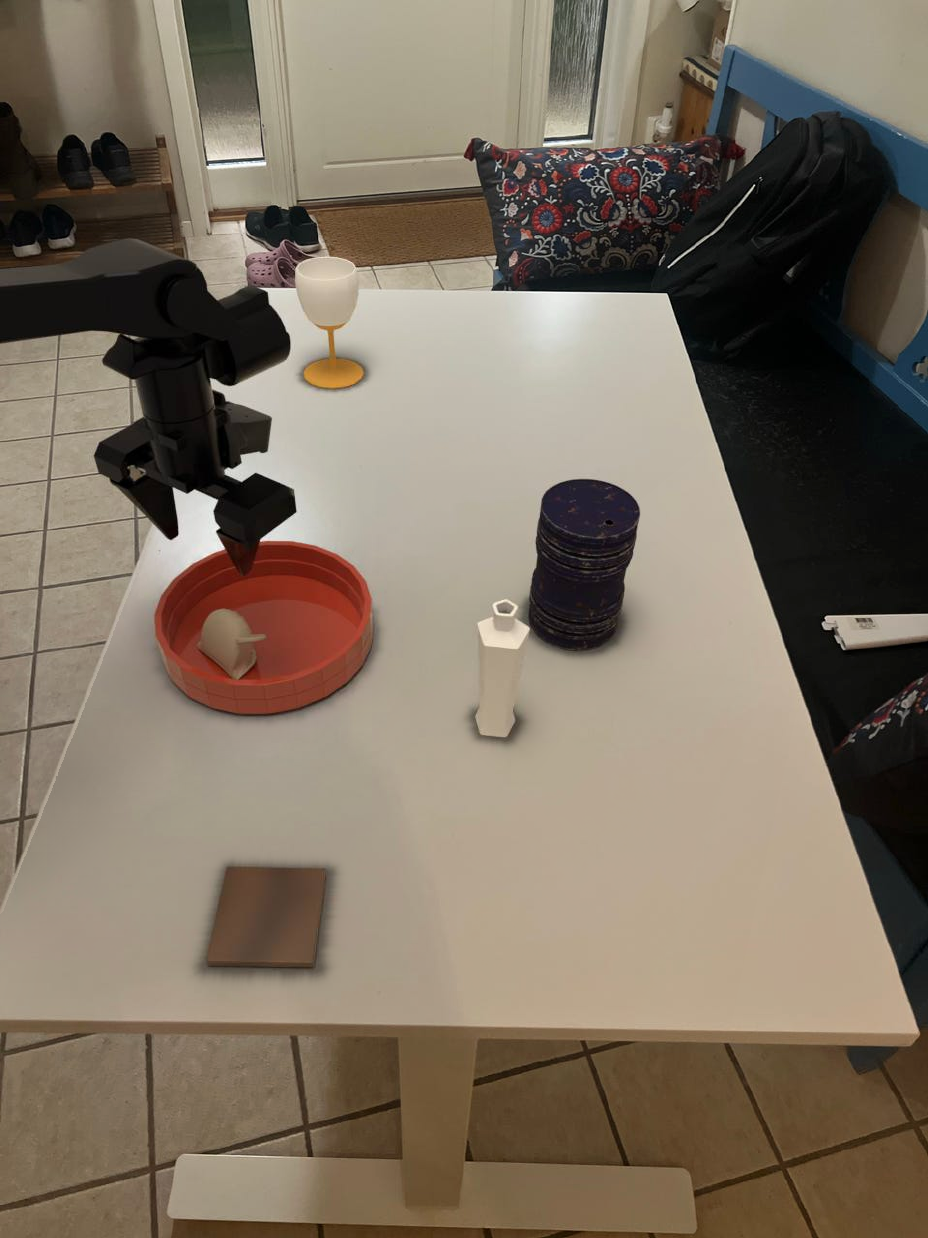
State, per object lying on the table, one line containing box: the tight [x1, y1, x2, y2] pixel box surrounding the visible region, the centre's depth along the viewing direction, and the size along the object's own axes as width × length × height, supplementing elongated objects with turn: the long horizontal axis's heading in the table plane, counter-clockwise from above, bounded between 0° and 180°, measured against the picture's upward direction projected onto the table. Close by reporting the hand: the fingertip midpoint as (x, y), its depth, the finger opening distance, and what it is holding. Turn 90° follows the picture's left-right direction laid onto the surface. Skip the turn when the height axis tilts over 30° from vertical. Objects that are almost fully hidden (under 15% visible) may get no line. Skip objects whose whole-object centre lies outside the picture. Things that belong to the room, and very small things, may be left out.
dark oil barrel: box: [527, 478, 641, 651], centre depth 91 cm, size 10×10×15 cm
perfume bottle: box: [475, 598, 531, 738], centre depth 80 cm, size 5×4×15 cm
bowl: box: [153, 540, 374, 715], centre depth 91 cm, size 21×21×4 cm
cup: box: [294, 256, 365, 390], centre depth 129 cm, size 9×9×16 cm
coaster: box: [205, 866, 327, 968], centre depth 70 cm, size 8×8×1 cm
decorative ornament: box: [197, 609, 266, 680], centre depth 88 cm, size 4×8×5 cm, turn 45°
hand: (209, 554), depth 83 cm, fingers open, 9 cm apart
